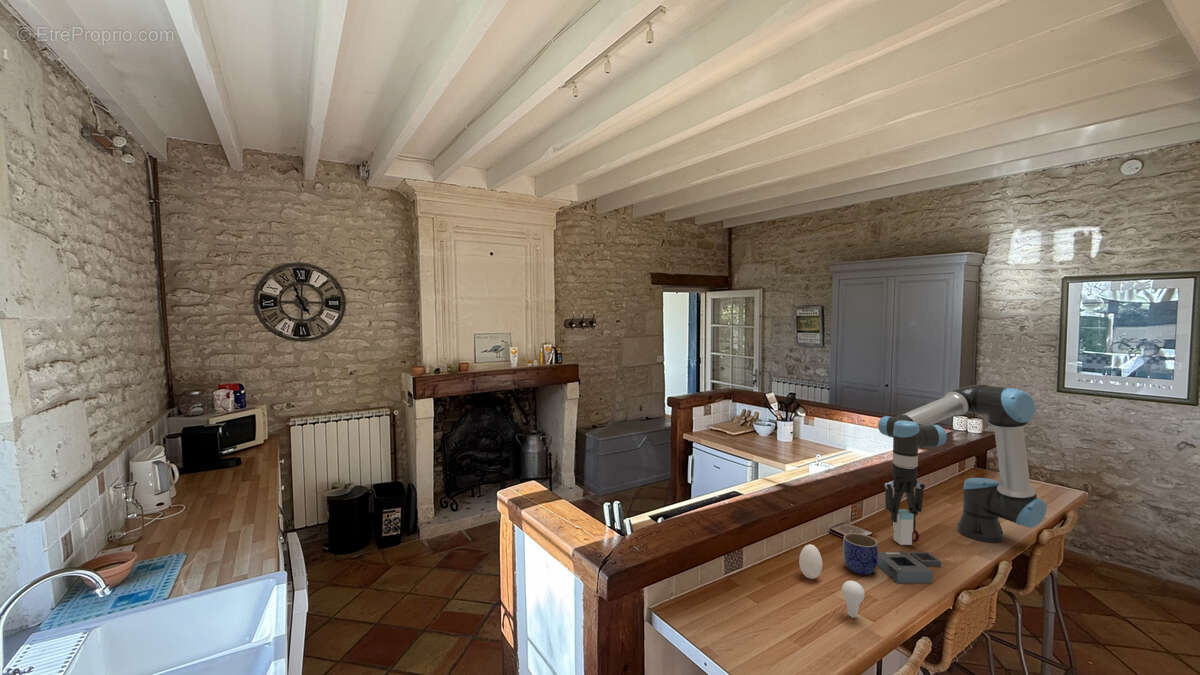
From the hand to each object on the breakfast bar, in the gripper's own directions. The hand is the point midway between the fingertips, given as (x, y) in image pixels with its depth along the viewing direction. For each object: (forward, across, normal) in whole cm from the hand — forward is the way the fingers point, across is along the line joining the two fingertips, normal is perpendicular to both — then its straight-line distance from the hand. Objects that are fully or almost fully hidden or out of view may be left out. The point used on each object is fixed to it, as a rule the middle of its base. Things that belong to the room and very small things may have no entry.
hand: (902, 530), depth 171 cm
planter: (+16, +14, -2) cm, 21 cm away
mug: (+15, -15, -21) cm, 30 cm away
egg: (+16, +34, +3) cm, 37 cm away
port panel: (+15, 0, 0) cm, 15 cm away
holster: (+15, -13, -7) cm, 21 cm away
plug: (+4, 0, 0) cm, 4 cm away
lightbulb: (+16, +31, +25) cm, 43 cm away
